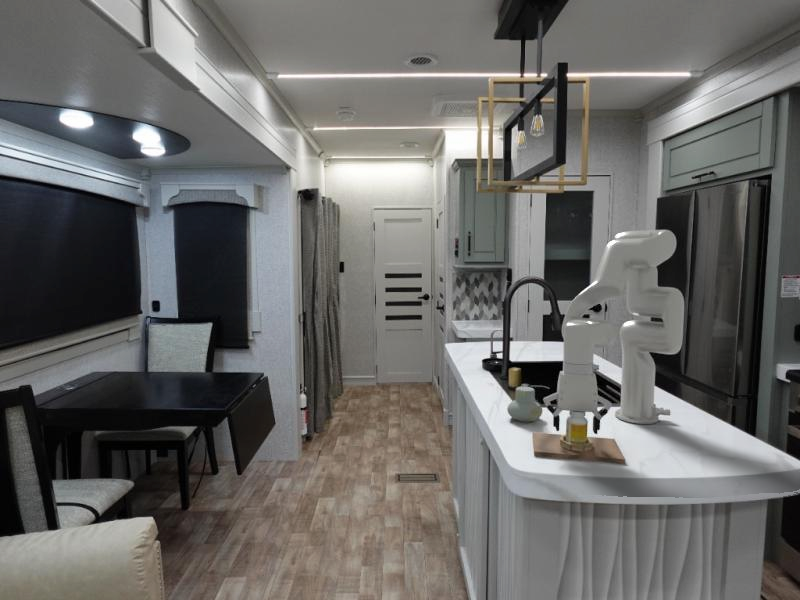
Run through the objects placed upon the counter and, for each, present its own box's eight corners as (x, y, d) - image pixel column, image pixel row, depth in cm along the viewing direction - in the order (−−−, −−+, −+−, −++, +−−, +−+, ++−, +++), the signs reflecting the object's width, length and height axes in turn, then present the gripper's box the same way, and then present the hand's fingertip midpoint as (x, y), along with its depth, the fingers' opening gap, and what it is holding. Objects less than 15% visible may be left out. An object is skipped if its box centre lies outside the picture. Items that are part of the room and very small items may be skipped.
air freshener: (525, 426, 148) (525, 394, 148) (503, 419, 155) (503, 389, 154) (545, 418, 155) (546, 388, 154) (524, 412, 162) (524, 383, 161)
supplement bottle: (561, 442, 132) (562, 408, 131) (576, 439, 134) (577, 405, 133) (576, 449, 127) (577, 414, 126) (591, 446, 130) (592, 411, 129)
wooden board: (614, 442, 135) (614, 433, 135) (625, 463, 121) (625, 453, 121) (532, 436, 140) (532, 427, 140) (534, 455, 127) (534, 445, 126)
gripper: (610, 366, 130) (607, 428, 132) (543, 363, 134) (541, 423, 136) (615, 373, 123) (613, 438, 125) (544, 370, 127) (543, 433, 129)
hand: (576, 430), depth 130 cm, fingers open, 9 cm apart
